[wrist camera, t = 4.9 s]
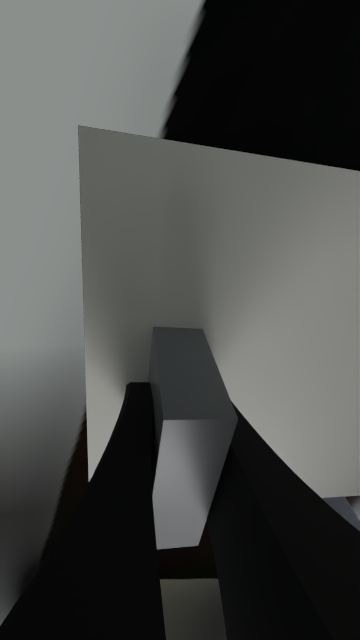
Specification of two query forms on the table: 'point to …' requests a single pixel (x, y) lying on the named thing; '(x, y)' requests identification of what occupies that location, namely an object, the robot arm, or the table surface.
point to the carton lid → (220, 312)
